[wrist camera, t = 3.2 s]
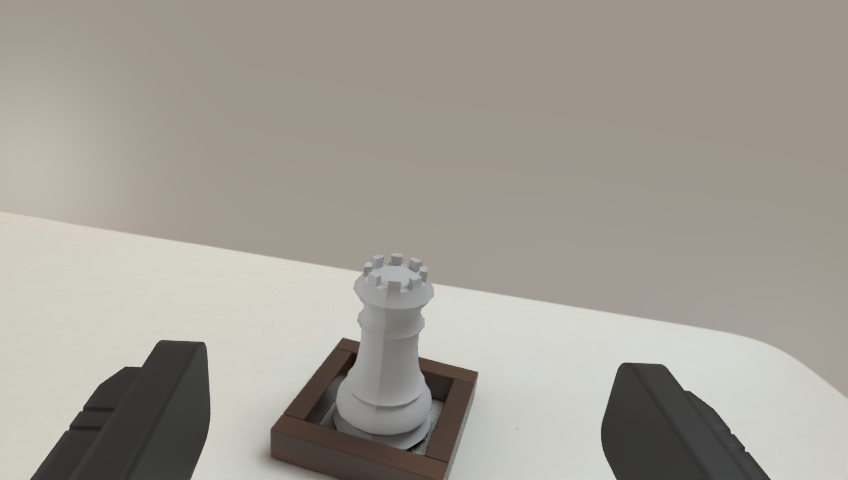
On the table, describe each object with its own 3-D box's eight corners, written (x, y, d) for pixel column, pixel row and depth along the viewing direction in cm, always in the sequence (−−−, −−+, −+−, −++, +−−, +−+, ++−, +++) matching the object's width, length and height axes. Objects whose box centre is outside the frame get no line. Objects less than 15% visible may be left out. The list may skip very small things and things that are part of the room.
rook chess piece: (420, 471, 23) (442, 303, 20) (317, 448, 24) (322, 281, 20) (438, 402, 27) (458, 253, 24) (350, 384, 28) (358, 236, 24)
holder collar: (474, 396, 28) (478, 371, 27) (438, 510, 21) (442, 481, 21) (341, 360, 29) (342, 336, 29) (269, 457, 23) (269, 429, 22)
